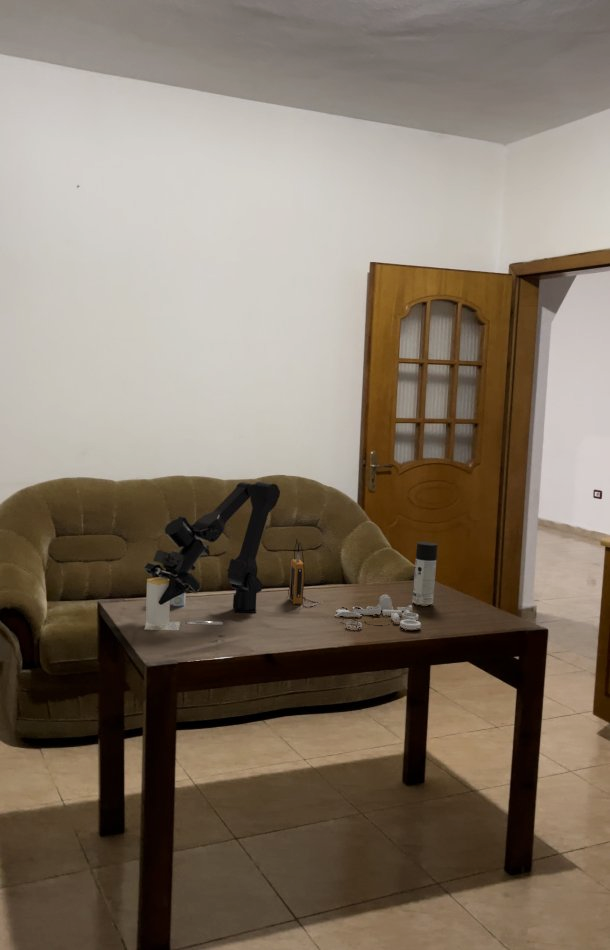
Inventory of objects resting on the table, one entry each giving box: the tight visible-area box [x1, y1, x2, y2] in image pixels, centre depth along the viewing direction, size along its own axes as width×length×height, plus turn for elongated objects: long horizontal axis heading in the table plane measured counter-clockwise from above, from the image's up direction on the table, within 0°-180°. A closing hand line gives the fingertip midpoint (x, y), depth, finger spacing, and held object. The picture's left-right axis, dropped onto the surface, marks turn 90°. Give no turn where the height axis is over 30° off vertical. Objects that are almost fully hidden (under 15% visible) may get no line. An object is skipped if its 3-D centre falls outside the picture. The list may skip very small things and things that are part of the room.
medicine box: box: [170, 593, 187, 607], centre depth 263 cm, size 8×4×9 cm, turn 93°
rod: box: [186, 620, 224, 626], centre depth 245 cm, size 10×2×2 cm, turn 96°
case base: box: [144, 620, 181, 631], centre depth 241 cm, size 11×10×1 cm
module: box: [145, 577, 171, 626], centre depth 240 cm, size 4×4×12 cm
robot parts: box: [334, 594, 422, 629], centre depth 263 cm, size 25×25×5 cm
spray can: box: [411, 541, 438, 605], centre depth 284 cm, size 7×7×20 cm
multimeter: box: [287, 538, 324, 608], centre depth 278 cm, size 15×10×20 cm
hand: (154, 601), depth 239 cm, fingers closed on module, 4 cm apart
